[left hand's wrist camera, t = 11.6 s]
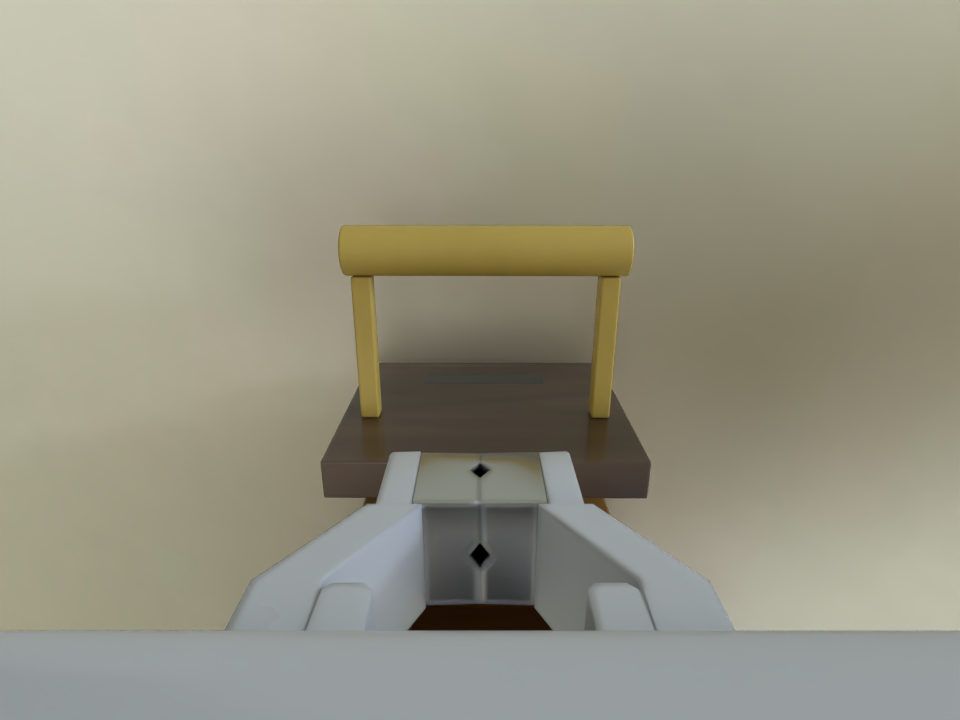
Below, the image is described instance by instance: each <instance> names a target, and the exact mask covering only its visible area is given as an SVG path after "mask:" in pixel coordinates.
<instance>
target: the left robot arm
mask: <svg viewBox="0 0 960 720" xmlns="http://www.w3.org/2000/svg"><path fill="white" fill-rule="evenodd" d="M451 604H508V605H534V608H535V609H536V610H537V612H538V613H539V614H540V615H541V616H542V618H543V619H544V620H545V621H546V623H547V624H548V625H549V626H550V628H551V629H552V630H553V631H407V630H408V629H409V628H410V627H411V626H412V624H413V623H414V622H415V621H416V619H417V618H418V617H419V616H420V615H421V613H422V612H423V611H424V610H425V608H426V605H451ZM0 720H960V631H735V629H734V627H733V625H732V623H731V621H730V619H729V617H728V615H727V613H726V612H725V610H724V608H723V606H722V604H721V602H720V600H719V598H718V596H717V594H716V592H715V590H714V589H713V587H712V585H711V583H710V581H709V580H707V579H706V578H704V577H703V576H701V575H700V574H698V573H697V572H695V571H694V570H692V569H691V568H689V567H687V566H686V565H684V564H683V563H681V562H680V561H678V560H677V559H675V558H674V557H672V556H671V555H669V554H668V553H666V552H665V551H663V550H662V549H660V548H659V547H657V546H656V545H654V544H653V543H651V542H650V541H648V540H647V539H645V538H644V537H642V536H641V535H639V534H638V533H636V532H635V531H633V530H631V529H630V528H628V527H627V526H625V525H624V524H622V523H621V522H619V521H618V520H616V519H615V518H613V517H612V516H610V515H609V514H607V513H606V512H604V511H603V510H601V509H600V508H598V507H597V506H595V505H594V504H584V501H583V498H582V494H581V491H580V488H579V484H578V481H577V477H576V474H575V471H574V467H573V464H572V460H571V457H570V454H569V453H568V452H567V451H560V452H513V453H451V452H423V453H421V452H420V451H413V452H393V453H391V454H390V456H389V460H388V463H387V467H386V470H385V474H384V477H383V481H382V484H381V487H380V491H379V494H378V498H377V501H376V504H366V505H365V506H363V507H362V508H360V509H359V510H357V511H356V512H354V513H353V514H351V515H350V516H348V517H347V518H345V519H344V520H342V521H341V522H339V523H337V524H336V525H334V526H333V527H331V528H330V529H328V530H327V531H325V532H324V533H322V534H321V535H319V536H318V537H316V538H315V539H313V540H312V541H310V542H309V543H307V544H306V545H304V546H303V547H301V548H299V549H298V550H296V551H295V552H293V553H292V554H290V555H289V556H287V557H286V558H284V559H283V560H281V561H280V562H278V563H277V564H275V565H274V566H272V567H271V568H269V569H268V570H266V571H264V572H263V573H261V574H260V575H258V576H257V577H255V578H254V579H252V580H251V582H250V583H249V585H248V587H247V589H246V591H245V593H244V595H243V597H242V599H241V600H240V602H239V604H238V606H237V608H236V610H235V612H234V614H233V616H232V618H231V619H230V621H229V623H228V625H227V627H226V629H225V631H202V630H42V631H0Z"/></svg>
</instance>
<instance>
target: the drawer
mask: <svg viewBox="0 0 960 720" xmlns="http://www.w3.org/2000/svg"><path fill="white" fill-rule="evenodd" d="M338 254H339V262H340V267H341V270H342V272H343V274H344V275H346V276H352V277H351V288H352V301H353V314H354V327H355V340H356V353H357V366H358V380H359V387H358V389H357V391H356V393H355V395H354V397H353V399H352V401H351V403H350V405H349V407H348V409H347V411H346V413H345V415H344V417H343V419H342V421H341V423H340V425H339V427H338V429H337V431H336V433H335V435H334V437H333V439H332V441H331V443H330V445H329V447H328V449H327V451H326V453H325V455H324V457H323V459H322V461H321V470H322V480H323V489H324V497H331V498H365V501H364V504H363V506H365V505H366V504H376V501H377V498H378V494H379V491H380V487H381V484H382V481H383V477H384V474H385V470H386V467H387V463H388V460H389V456H390V454H391V453H393V452H413V451H420V452H421V453H423V452H451V453H513V452H560V451H567V452H568V453H569V454H570V457H571V460H572V464H573V467H574V471H575V474H576V477H577V481H578V484H579V488H580V491H581V494H582V498H583V501H584V504H594V505H595V506H597V507H598V508H600V509H601V510H603V511H604V512H606V513H607V514H609V515H610V513H609V510H608V507H607V504H606V502H605V499H604V498H647V494H648V486H649V477H650V469H651V462H650V460H649V458H648V456H647V454H646V452H645V450H644V448H643V447H642V445H641V443H640V441H639V439H638V437H637V435H636V433H635V431H634V430H633V428H632V426H631V424H630V422H629V420H628V418H627V416H626V414H625V412H624V411H623V409H622V407H621V405H620V403H619V401H618V399H617V397H616V395H615V394H614V392H613V390H612V379H613V367H614V356H615V344H616V332H617V321H618V309H619V298H620V286H621V278H620V277H619V276H627V275H629V273H630V271H631V268H632V264H633V259H634V236H633V231H632V229H631V227H630V226H544V225H344V226H342V227H341V229H340V233H339V239H338ZM373 276H598V287H597V300H596V314H595V328H594V342H593V355H592V363H379V357H378V341H377V325H376V309H375V293H374V277H373ZM407 631H553V630H552V629H551V628H550V626H549V625H548V624H547V623H546V621H545V620H544V619H543V618H542V616H541V615H540V614H539V613H538V612H537V610H536V609H535V608H534V605H508V604H451V605H426V608H425V610H424V611H423V612H422V613H421V615H420V616H419V617H418V618H417V619H416V621H415V622H414V623H413V624H412V626H411V627H410V628H409V629H408V630H407Z"/></svg>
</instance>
